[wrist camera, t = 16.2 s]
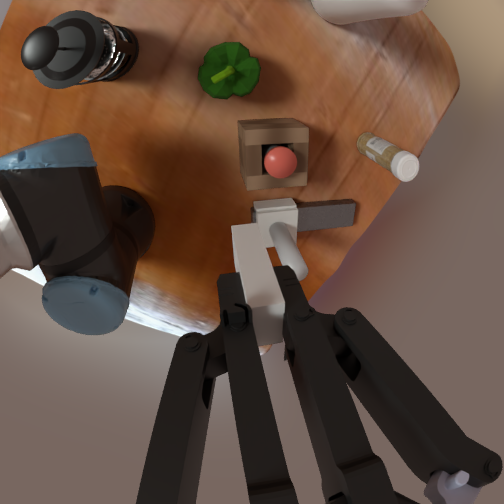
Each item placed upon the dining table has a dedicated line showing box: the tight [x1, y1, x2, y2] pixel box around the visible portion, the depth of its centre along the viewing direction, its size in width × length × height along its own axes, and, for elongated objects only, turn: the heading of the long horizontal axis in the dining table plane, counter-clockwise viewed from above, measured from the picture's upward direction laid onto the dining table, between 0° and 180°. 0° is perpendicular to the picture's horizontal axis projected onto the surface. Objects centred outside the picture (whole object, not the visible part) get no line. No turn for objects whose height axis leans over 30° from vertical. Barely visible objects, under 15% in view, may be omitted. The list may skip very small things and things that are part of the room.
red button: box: [261, 144, 297, 178], centre depth 42 cm, size 4×4×8 cm
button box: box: [238, 118, 309, 191], centre depth 43 cm, size 9×9×8 cm
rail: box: [251, 199, 356, 232], centre depth 55 cm, size 20×5×2 cm, turn 92°
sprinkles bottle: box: [357, 132, 419, 182], centre depth 43 cm, size 5×5×14 cm
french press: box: [21, 10, 139, 89], centre depth 23 cm, size 12×9×23 cm
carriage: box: [253, 198, 308, 281], centre depth 48 cm, size 7×8×16 cm
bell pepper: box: [198, 42, 261, 99], centre depth 34 cm, size 8×8×10 cm
